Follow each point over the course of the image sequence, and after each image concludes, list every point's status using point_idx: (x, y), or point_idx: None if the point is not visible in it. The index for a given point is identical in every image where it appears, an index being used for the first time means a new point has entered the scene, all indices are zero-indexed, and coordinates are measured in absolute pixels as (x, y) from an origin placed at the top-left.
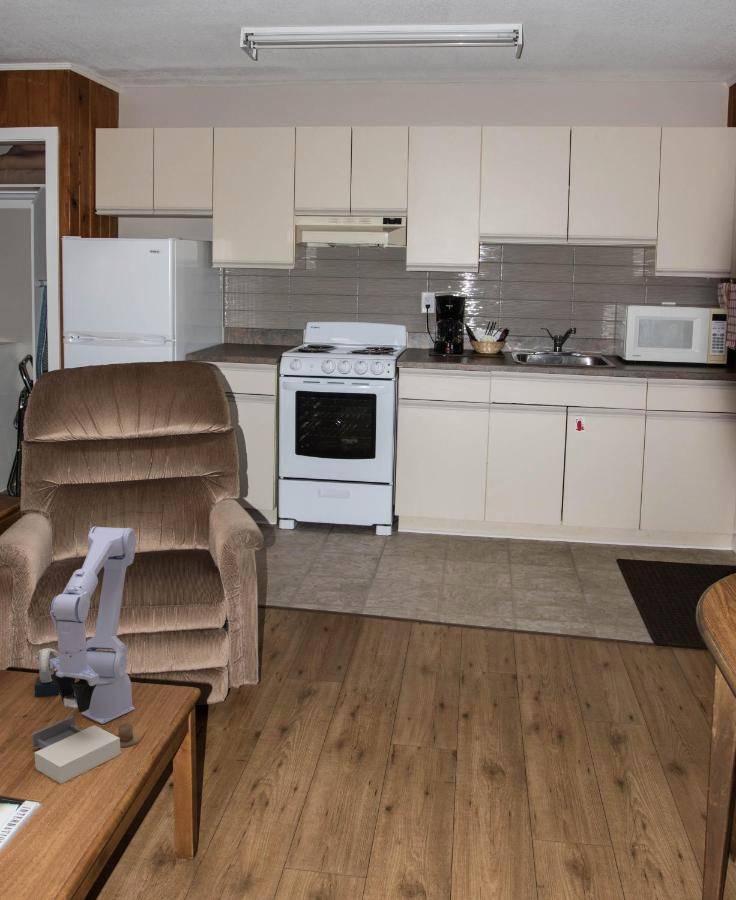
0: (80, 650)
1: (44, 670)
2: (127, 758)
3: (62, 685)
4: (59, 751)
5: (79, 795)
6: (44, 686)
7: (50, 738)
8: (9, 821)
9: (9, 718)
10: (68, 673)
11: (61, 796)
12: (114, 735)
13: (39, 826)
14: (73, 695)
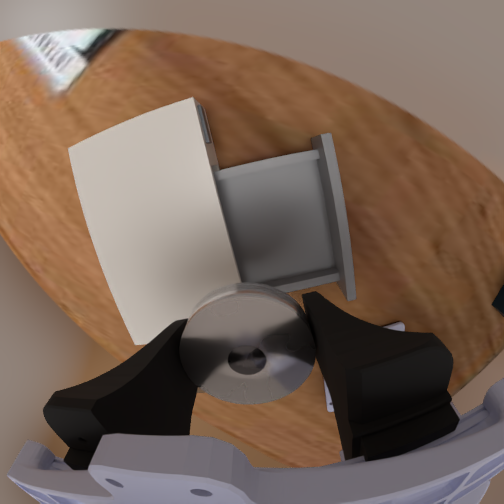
0: None
1: None
2: None
3: (331, 360)
4: (146, 171)
5: (42, 174)
6: None
7: (323, 198)
8: (51, 35)
9: (492, 177)
10: (95, 499)
11: (55, 137)
12: None
13: (11, 86)
14: (273, 358)
